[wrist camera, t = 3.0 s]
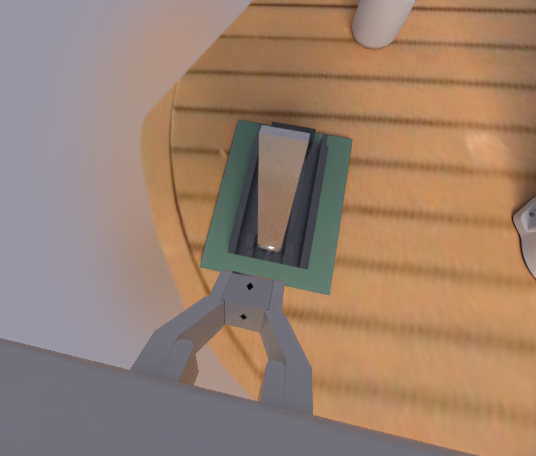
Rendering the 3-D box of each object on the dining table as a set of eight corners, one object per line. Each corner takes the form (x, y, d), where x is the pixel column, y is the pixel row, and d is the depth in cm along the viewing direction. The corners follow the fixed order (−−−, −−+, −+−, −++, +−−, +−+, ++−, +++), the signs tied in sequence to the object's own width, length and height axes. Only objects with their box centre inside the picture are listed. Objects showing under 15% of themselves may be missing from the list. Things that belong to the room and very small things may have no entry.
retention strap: (281, 245, 27) (279, 253, 26) (259, 241, 27) (257, 249, 26) (310, 131, 12) (308, 143, 12) (262, 123, 12) (258, 134, 12)
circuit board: (327, 294, 30) (329, 295, 29) (201, 267, 31) (199, 267, 30) (350, 142, 35) (352, 139, 34) (239, 123, 36) (238, 119, 35)
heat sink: (306, 269, 30) (315, 270, 24) (229, 253, 31) (218, 250, 24) (326, 150, 33) (339, 124, 27) (257, 138, 34) (253, 109, 28)
